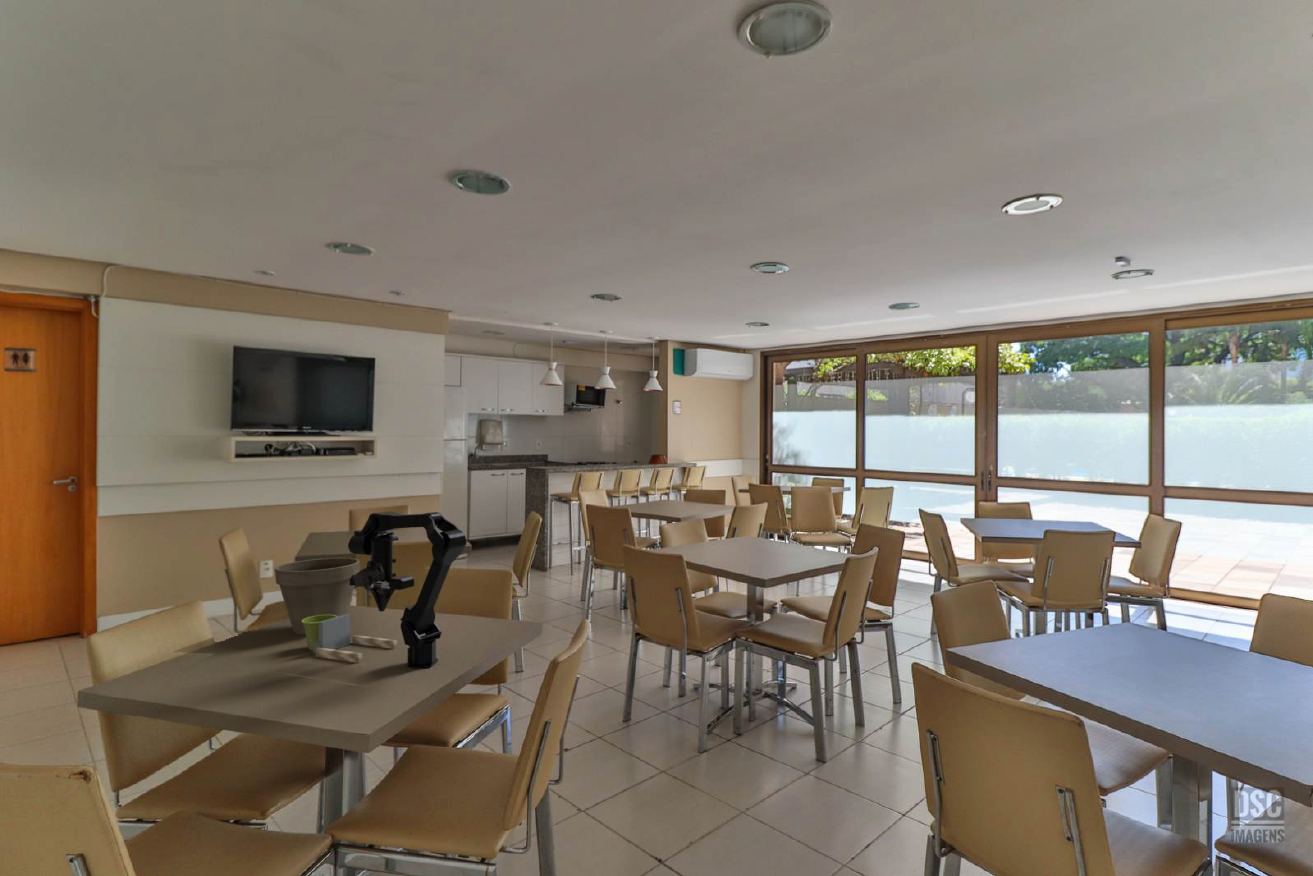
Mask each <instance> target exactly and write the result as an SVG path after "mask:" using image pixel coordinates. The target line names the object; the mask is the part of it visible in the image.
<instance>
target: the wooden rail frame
mask: <svg viewBox="0 0 1313 876" xmlns="http://www.w3.org/2000/svg"><path fill="white" fill-rule="evenodd" d="M351 637H352V644H354V645H360V646H368V647H376V648H383V649H391V650H395V649H398V640H397V639H390V638H389V639H388V638H381V637H373V636H367V635H366V636H365V635H358V634H354V635H352V636H351ZM315 657H316V658H321V659H322V658H323V659H329V660H337V661H343V662H352V663H362V662H363V653H362V652H355V651H347V650H339V649H336V650H335V649H327V648H320V647H319V648H316V653H315Z"/></svg>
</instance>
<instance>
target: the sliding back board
mask: <svg viewBox="0 0 1313 876" xmlns="http://www.w3.org/2000/svg"><path fill="white" fill-rule="evenodd" d="M350 645H351V614H349V613H347V614H345V615H342V616H338V617H335V618H332V619H328V620H325V621H321V622H319V641H316V642H313V650H312V653H313V654H316V648H319V647H320V648H327V649H335V650H339V649H341V648H343V647H344V648H345V647H346V646H347V647H348V646H350Z"/></svg>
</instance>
